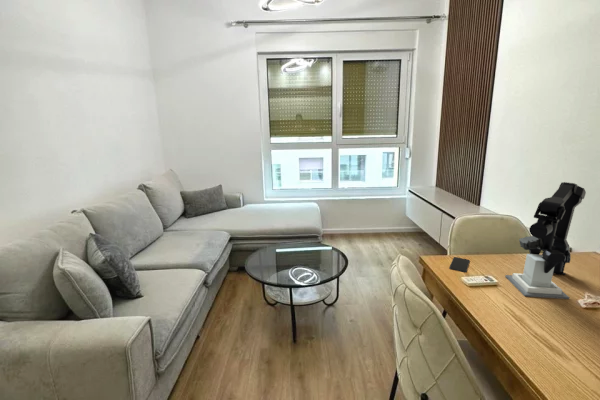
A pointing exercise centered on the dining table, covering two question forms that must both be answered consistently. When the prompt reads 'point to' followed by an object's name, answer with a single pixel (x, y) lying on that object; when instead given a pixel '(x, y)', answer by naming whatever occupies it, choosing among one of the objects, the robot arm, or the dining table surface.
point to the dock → (536, 288)
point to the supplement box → (536, 272)
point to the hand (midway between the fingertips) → (539, 267)
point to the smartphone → (459, 264)
